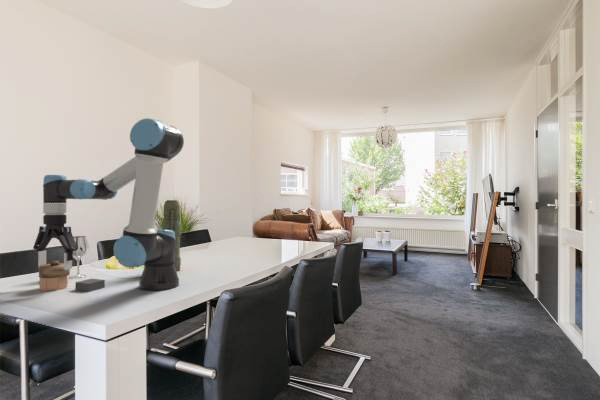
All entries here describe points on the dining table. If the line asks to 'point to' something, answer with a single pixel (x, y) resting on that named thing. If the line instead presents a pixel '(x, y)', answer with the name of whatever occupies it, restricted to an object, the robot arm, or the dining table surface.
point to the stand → (90, 285)
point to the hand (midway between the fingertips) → (55, 268)
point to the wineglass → (80, 252)
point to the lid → (53, 270)
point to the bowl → (53, 283)
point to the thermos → (173, 226)
